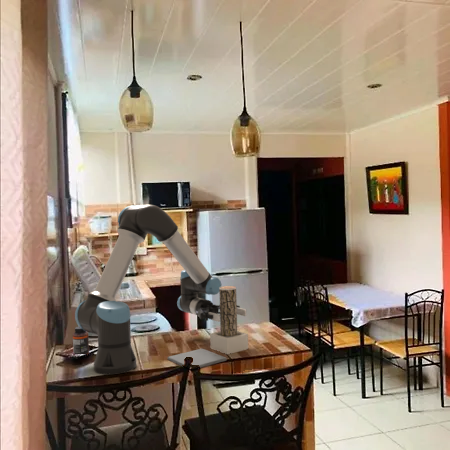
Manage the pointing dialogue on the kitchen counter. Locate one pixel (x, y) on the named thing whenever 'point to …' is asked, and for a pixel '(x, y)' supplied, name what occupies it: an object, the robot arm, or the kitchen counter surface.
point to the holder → (229, 342)
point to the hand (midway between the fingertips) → (232, 315)
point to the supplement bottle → (80, 341)
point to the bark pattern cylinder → (228, 311)
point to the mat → (198, 358)
